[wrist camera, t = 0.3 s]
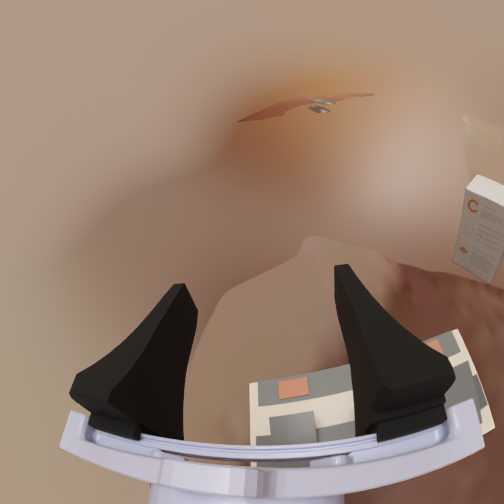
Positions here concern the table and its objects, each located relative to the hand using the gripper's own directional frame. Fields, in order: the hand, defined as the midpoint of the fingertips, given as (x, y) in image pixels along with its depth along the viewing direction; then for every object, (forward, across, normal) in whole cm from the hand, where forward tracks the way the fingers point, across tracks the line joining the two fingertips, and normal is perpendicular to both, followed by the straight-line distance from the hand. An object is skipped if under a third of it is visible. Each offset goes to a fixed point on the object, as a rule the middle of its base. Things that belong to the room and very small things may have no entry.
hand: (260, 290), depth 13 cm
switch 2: (-3, -16, +16) cm, 23 cm away
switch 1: (-4, 0, +17) cm, 18 cm away
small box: (+17, -31, +18) cm, 40 cm away
